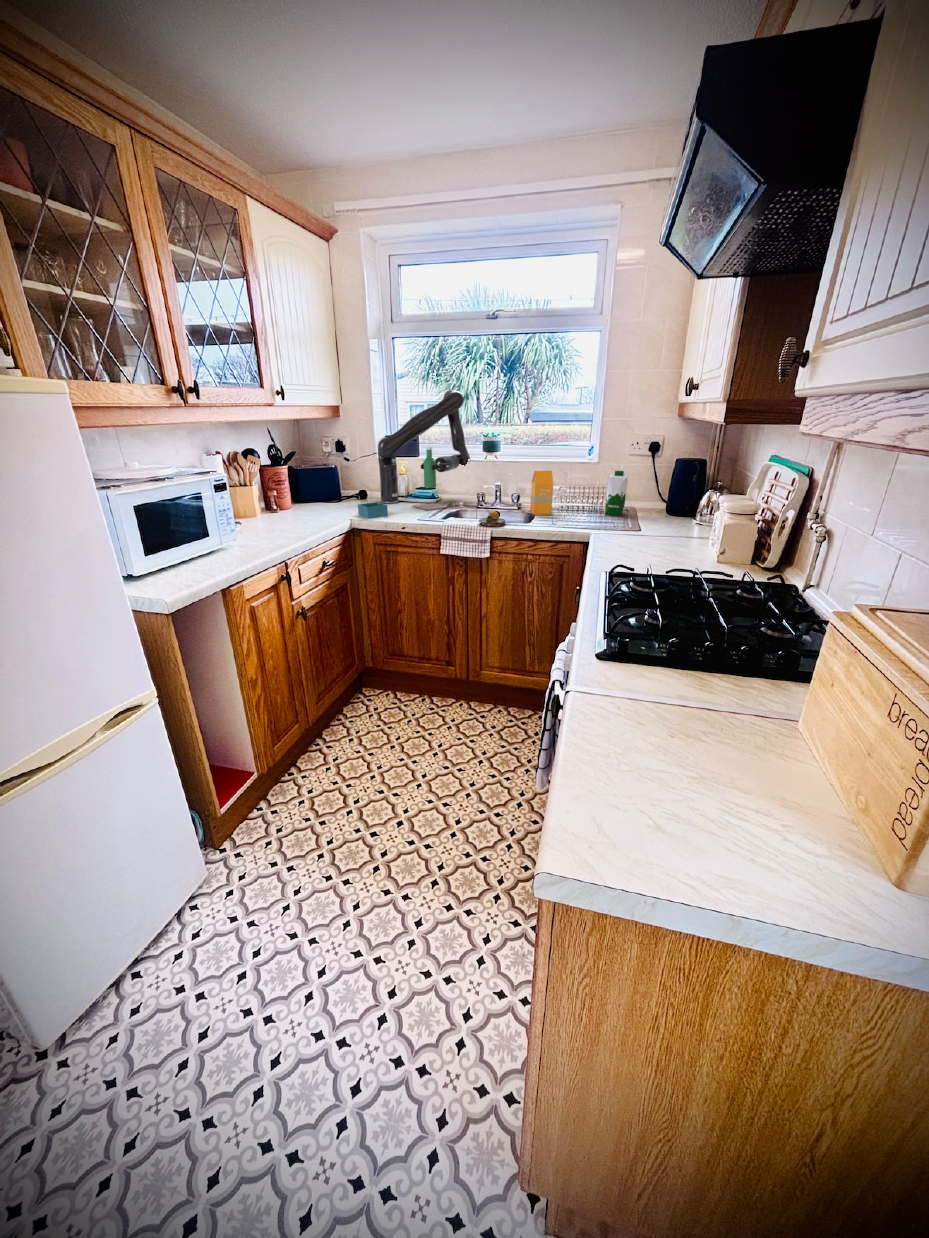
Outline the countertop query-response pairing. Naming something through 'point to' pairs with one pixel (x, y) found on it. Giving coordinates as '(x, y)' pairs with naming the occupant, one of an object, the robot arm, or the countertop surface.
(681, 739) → the countertop surface
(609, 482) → the milk carton
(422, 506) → the board
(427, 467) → the bottle
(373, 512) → the blue open box
